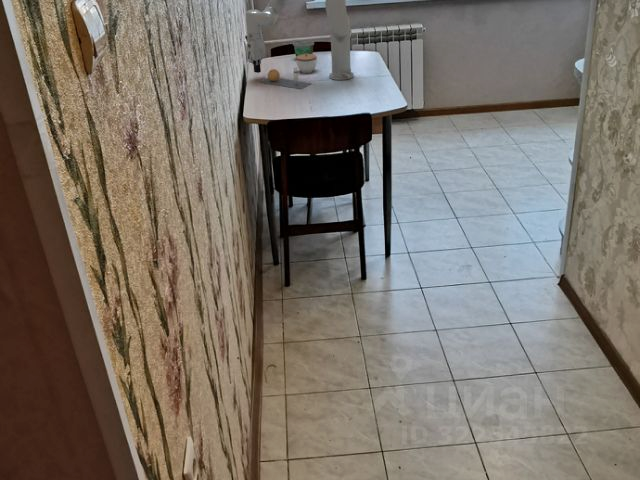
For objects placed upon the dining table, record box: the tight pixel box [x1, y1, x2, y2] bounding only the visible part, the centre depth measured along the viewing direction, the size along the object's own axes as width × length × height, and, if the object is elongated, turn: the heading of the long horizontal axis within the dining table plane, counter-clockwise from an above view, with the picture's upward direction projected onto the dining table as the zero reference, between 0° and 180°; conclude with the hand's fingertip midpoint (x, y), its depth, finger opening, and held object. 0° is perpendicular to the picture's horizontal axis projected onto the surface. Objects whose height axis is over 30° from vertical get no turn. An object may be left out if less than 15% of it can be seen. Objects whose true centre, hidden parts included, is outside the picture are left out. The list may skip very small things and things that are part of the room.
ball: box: [267, 68, 281, 81], centre depth 336 cm, size 6×6×6 cm
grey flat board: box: [259, 77, 313, 90], centre depth 334 cm, size 26×10×1 cm, turn 56°
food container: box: [292, 40, 315, 58], centre depth 368 cm, size 12×6×10 cm, turn 73°
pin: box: [293, 66, 299, 85], centre depth 329 cm, size 2×2×8 cm
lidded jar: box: [295, 53, 318, 74], centre depth 349 cm, size 11×11×9 cm
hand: (257, 72), depth 341 cm, fingers closed
